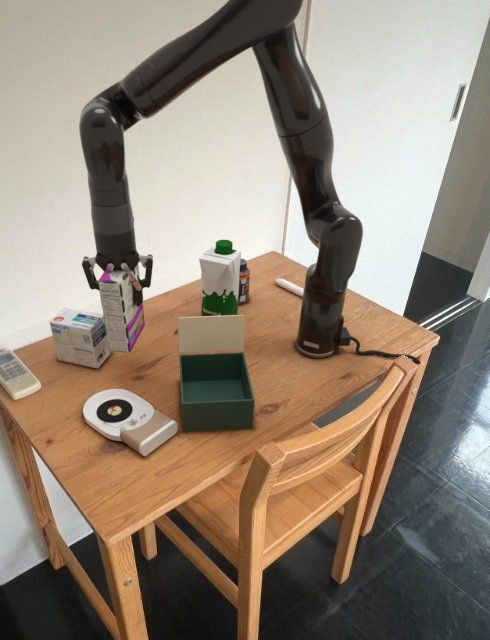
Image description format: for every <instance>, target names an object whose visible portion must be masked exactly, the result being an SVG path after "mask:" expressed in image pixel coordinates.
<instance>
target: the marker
mask: <svg viewBox="0 0 490 640" xmlns="http://www.w3.org/2000/svg"><path fill="white" fill-rule="evenodd" d="M275 283H276V284H277V285H278V286H279V287H281V288H283V289H285V290H287V291H289V292H291V293H293V294H294V295H297V296H299V297H301V298H303V292H304V288H303V287H301V286H299V285H297V284H294V283H293V282H290V281H288V280H286V279H284V278H276V279H275Z"/></svg>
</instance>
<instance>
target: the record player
mask: <svg viewBox="0 0 490 640" xmlns="http://www.w3.org/2000/svg"><path fill="white" fill-rule="evenodd" d="M82 414H83V418H84V421H85V422H86V424H87V425H88V426H90V427H91V428H92V429H93V430H95V432H98V433H99V434H100V435H102V436H104V437H105V438H107V439H109V440H112V441H116V442H123V443H124V444H126V445H127V446H129V447H130V448H131V449H133V450H134V451H136V452H137V453H139V454H140V455H141V456H143V457H146V456H148V455H149V454H151V453H152V452H153V451H155V450H156V449H157V448H159V447H160V446H161V445H163V444H164V443H165V442H167V441H168V440H169V439H171V438H172V437H173V436H174V435H176V434H177V432H178V428H179V427H178V422H177V421H175V420H174V419H172V418H170V417H169V416H167V415H165V414H164V413H162V412H161V411H159V410H157V409H156V408H154V406H153V405H152V404H151V403H149V402H148V401H146V400H145V399H144V398H142V397H140V396H138V395H137V394H135V393H134V392H132V391H130V390H128V389H123V388H110V389H105V390H102V391H99V392H96V393H95V394H93V395H92V396H90V397H89V398H88V399H87V400H86V401H85V403H84V405H83V407H82Z"/></svg>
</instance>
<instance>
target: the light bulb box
mask: <svg viewBox="0 0 490 640" xmlns="http://www.w3.org/2000/svg"><path fill="white" fill-rule="evenodd" d="M48 323H49V327H50V331H51V334H52V339H53V344H54V347H55V351H56V355H57V360H58V361H61V362H65V363H69V364H70V363H71V364H75V365H80V366H84V367H88V368H93V369H99V368H100V367H101V365H102V364H103V363H104V362H105V361H106V360H107V358H108V357H109V356H110V355H111V351H110V350H109V344H108V339H107V332H106V326H105V321H104V314H100V313H95V312H87V311H82V310H77V309H72V308H68V307H67V308H66V307H64V308H62V309H61V310H60V311H59V312H58V313H57V314H56V315H55V316H54V317H53V318H51V319H50V320H49V321H48Z"/></svg>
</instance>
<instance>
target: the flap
mask: <svg viewBox="0 0 490 640" xmlns="http://www.w3.org/2000/svg"><path fill="white" fill-rule="evenodd" d="M245 323H246V315H245V314H237V315H224V316H200V315H199V316H180V317H179V316H178V317H177V333H178V353H180V354H181V353H200V352H201V353H203V352H223V351H224V352H226V351H244V350H245V327H246V326H245Z"/></svg>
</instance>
